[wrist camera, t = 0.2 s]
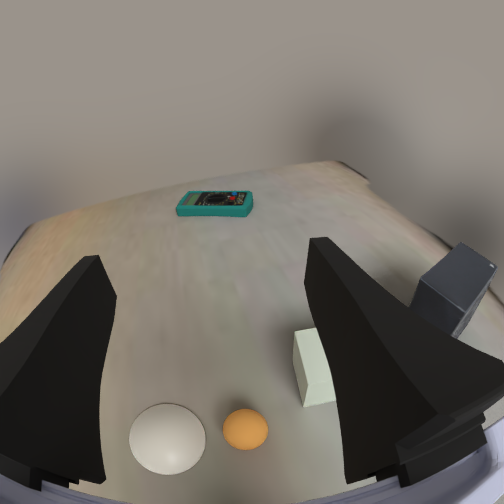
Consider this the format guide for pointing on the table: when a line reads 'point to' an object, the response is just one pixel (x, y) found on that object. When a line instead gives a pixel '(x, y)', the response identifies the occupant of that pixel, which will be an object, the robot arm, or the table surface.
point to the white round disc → (167, 439)
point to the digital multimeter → (216, 203)
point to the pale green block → (312, 369)
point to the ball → (245, 429)
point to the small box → (453, 289)
